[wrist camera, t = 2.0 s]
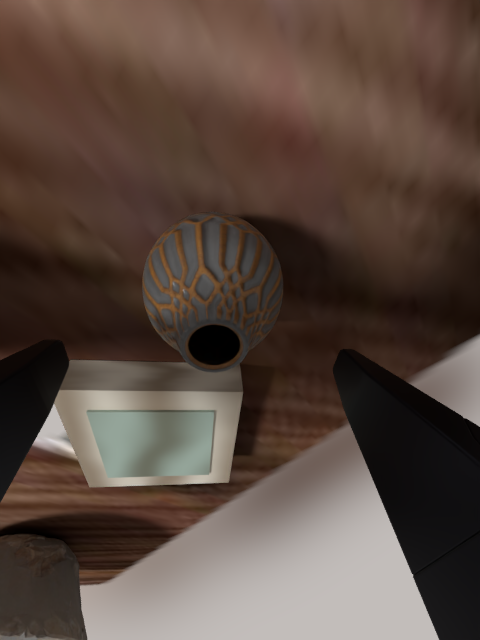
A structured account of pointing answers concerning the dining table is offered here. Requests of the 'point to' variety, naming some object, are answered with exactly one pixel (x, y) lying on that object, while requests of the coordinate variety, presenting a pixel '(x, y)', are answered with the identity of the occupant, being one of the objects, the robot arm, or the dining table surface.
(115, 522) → the dining table surface
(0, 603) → the ceramic bowl
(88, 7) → the dining table surface
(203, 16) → the dining table surface
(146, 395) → the plinth
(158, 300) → the vase
